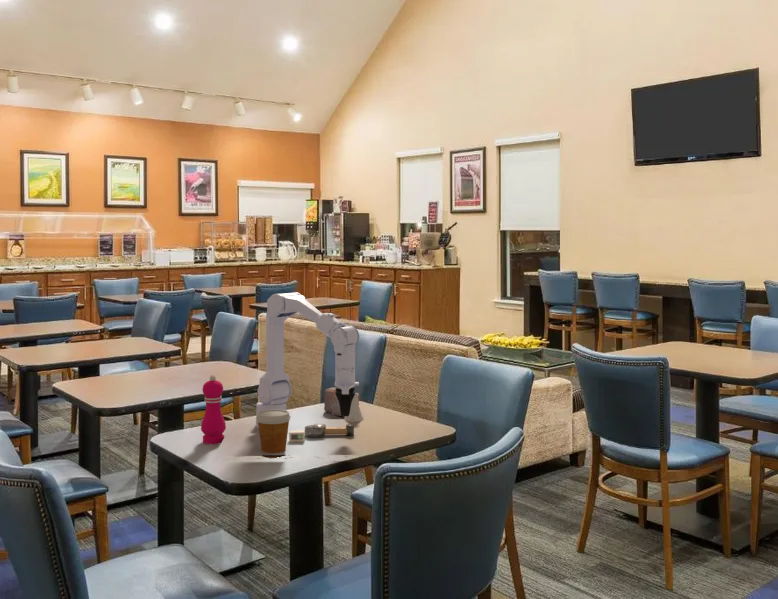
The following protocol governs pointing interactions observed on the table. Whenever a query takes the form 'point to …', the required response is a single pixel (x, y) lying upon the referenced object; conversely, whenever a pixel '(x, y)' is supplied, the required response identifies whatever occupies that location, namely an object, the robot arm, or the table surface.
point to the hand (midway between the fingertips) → (345, 413)
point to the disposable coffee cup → (273, 431)
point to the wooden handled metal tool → (328, 430)
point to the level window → (297, 436)
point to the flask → (354, 411)
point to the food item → (332, 402)
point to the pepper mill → (213, 412)
